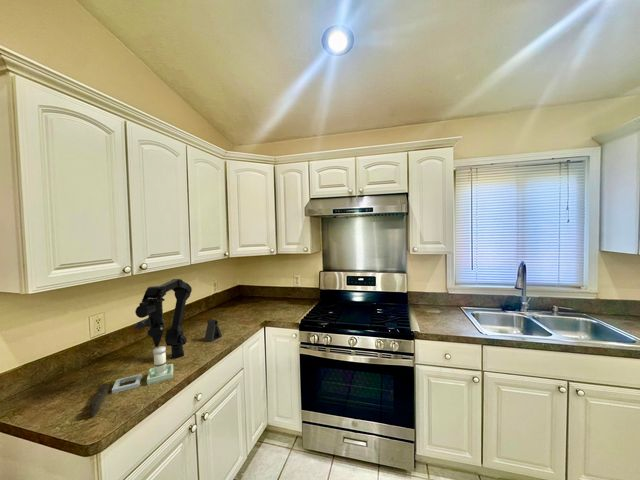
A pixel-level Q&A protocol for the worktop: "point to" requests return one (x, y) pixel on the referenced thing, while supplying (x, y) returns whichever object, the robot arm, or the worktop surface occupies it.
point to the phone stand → (212, 331)
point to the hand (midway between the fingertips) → (157, 343)
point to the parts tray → (152, 379)
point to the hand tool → (99, 399)
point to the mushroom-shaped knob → (160, 361)
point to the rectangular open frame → (129, 386)
